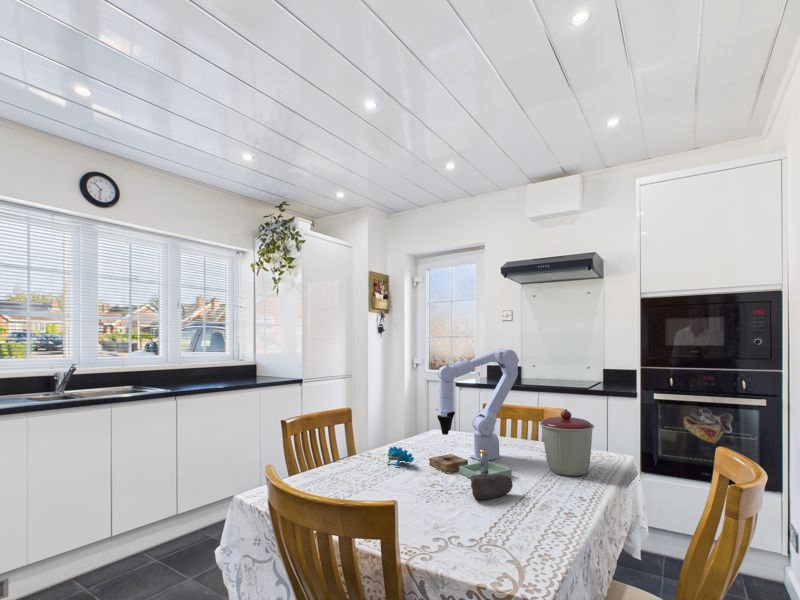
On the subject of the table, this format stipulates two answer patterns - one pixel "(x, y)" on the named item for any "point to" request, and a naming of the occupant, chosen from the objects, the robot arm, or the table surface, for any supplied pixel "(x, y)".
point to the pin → (484, 461)
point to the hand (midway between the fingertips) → (446, 432)
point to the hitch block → (447, 462)
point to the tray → (476, 469)
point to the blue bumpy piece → (399, 455)
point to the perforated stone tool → (490, 486)
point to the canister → (567, 444)
